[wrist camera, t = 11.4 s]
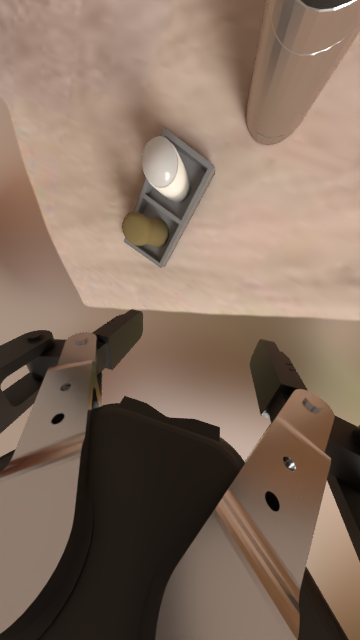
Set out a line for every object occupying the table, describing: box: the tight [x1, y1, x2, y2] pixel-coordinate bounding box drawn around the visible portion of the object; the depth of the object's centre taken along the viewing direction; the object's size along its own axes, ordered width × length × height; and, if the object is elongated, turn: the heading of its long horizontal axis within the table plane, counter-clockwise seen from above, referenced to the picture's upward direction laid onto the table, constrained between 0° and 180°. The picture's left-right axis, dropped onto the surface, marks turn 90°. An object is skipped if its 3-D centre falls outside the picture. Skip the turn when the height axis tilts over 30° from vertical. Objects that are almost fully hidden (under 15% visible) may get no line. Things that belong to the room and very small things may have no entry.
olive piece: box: [122, 212, 169, 247], centre depth 31 cm, size 6×6×11 cm
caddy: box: [124, 128, 215, 268], centre depth 33 cm, size 20×11×3 cm, turn 149°
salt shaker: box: [142, 136, 191, 203], centre depth 26 cm, size 6×6×10 cm
